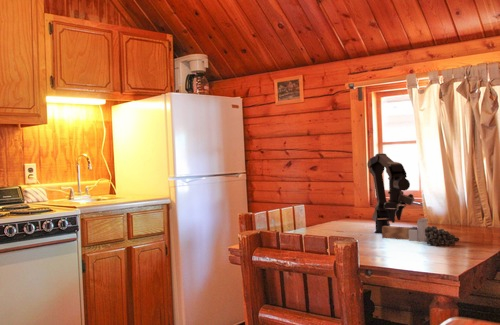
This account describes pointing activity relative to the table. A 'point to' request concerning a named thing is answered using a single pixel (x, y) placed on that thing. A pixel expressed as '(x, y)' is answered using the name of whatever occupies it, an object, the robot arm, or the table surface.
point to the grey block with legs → (419, 230)
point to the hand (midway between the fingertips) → (396, 221)
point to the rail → (396, 232)
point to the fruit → (439, 236)
